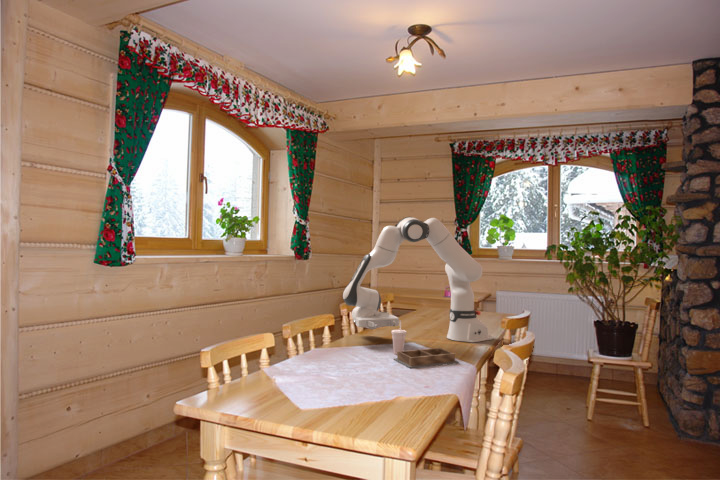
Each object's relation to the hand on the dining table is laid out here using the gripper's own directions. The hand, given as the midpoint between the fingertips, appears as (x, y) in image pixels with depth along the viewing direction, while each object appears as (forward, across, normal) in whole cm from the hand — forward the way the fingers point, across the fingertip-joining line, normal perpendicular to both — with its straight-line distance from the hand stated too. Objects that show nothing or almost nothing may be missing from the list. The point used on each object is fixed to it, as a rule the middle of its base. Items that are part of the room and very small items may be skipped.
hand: (384, 324), depth 210 cm
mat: (+26, +5, +10) cm, 29 cm away
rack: (+26, +5, +10) cm, 29 cm away
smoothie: (+12, +1, +10) cm, 16 cm away
